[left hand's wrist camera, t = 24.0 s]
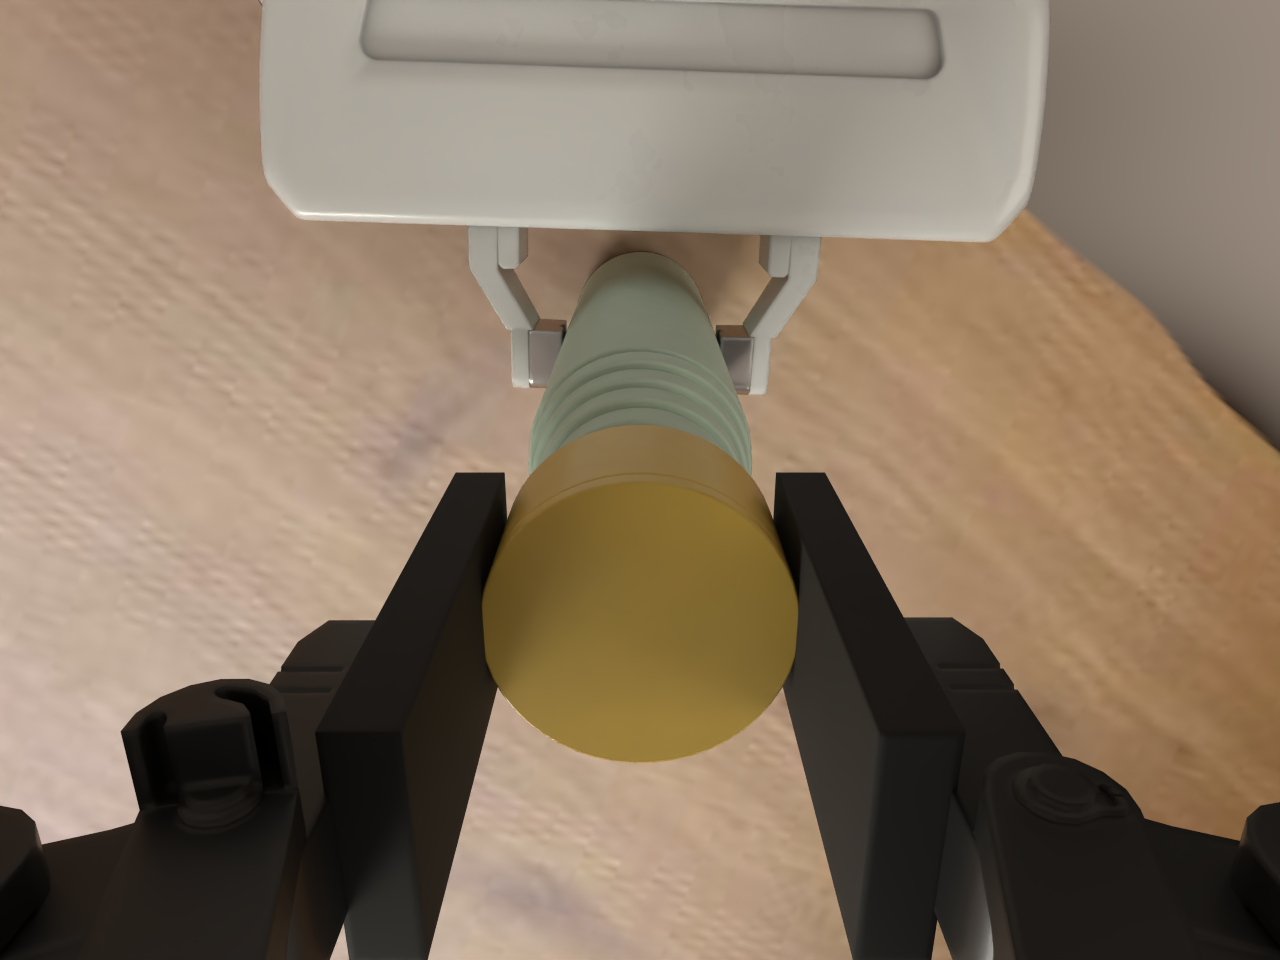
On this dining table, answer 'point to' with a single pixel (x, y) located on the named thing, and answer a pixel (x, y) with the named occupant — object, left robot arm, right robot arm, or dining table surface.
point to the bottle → (640, 363)
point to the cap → (640, 597)
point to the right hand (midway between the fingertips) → (640, 387)
